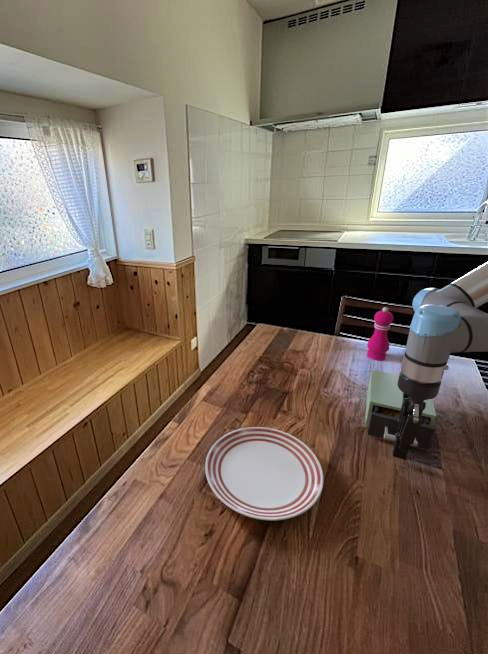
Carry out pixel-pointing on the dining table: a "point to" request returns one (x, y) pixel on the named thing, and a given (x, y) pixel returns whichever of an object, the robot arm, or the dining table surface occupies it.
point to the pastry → (389, 412)
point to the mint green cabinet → (390, 395)
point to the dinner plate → (264, 473)
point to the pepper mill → (380, 335)
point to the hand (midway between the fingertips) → (399, 455)
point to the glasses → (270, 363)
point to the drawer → (389, 426)
